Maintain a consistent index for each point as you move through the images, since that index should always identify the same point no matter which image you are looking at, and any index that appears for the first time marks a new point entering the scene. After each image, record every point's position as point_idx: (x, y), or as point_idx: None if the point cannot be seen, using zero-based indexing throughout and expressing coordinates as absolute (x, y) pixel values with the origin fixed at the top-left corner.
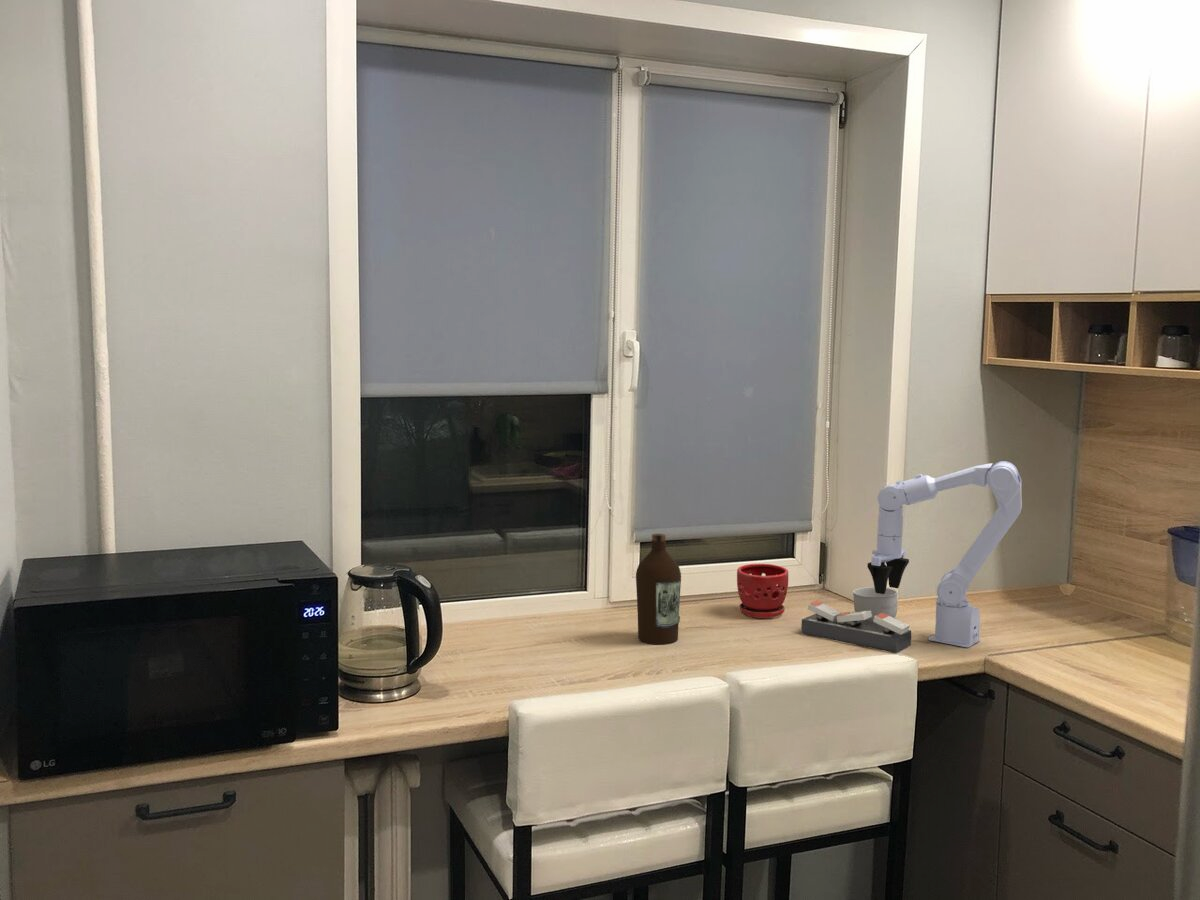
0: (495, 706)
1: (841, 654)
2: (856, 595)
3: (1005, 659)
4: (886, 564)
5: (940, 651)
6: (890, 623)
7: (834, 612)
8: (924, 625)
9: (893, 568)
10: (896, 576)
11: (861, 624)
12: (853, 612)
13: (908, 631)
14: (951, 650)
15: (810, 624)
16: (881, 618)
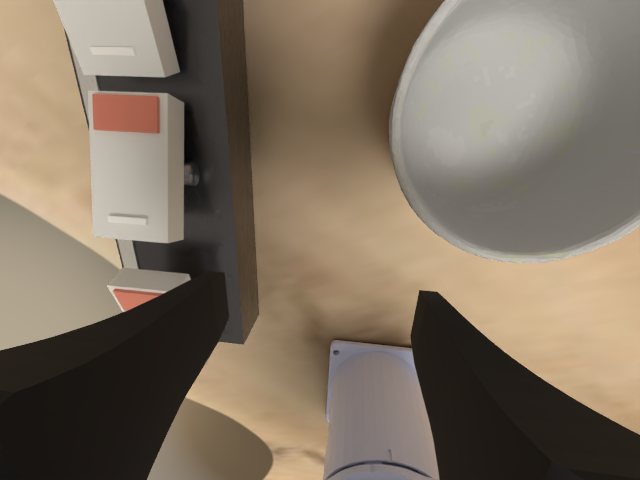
0: None
1: (38, 192)
2: (424, 27)
3: (299, 474)
4: (500, 408)
5: (262, 378)
6: None
7: (108, 55)
8: (509, 288)
9: (463, 438)
10: (434, 394)
11: (185, 187)
12: (159, 152)
13: (228, 340)
14: (287, 394)
15: None
16: (124, 305)
